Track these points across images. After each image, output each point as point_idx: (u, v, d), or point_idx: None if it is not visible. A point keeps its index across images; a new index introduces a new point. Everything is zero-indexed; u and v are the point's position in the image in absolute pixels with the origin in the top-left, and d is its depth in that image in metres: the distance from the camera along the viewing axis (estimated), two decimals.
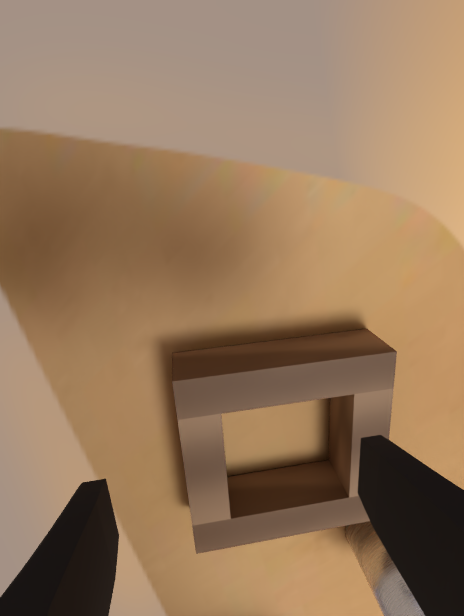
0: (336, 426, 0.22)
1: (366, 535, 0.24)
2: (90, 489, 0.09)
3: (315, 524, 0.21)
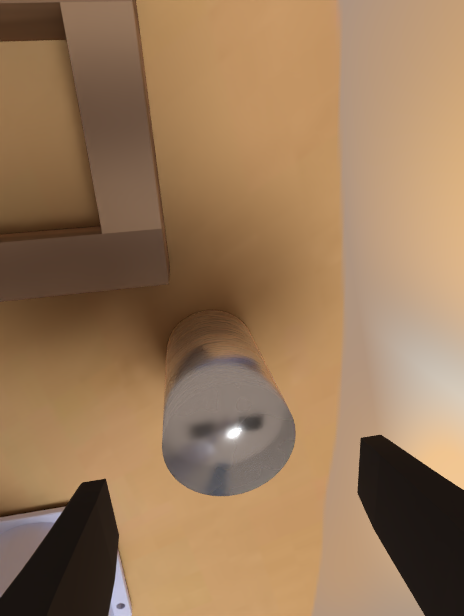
0: None
1: (175, 341, 0.16)
2: (90, 488, 0.09)
3: (54, 282, 0.13)
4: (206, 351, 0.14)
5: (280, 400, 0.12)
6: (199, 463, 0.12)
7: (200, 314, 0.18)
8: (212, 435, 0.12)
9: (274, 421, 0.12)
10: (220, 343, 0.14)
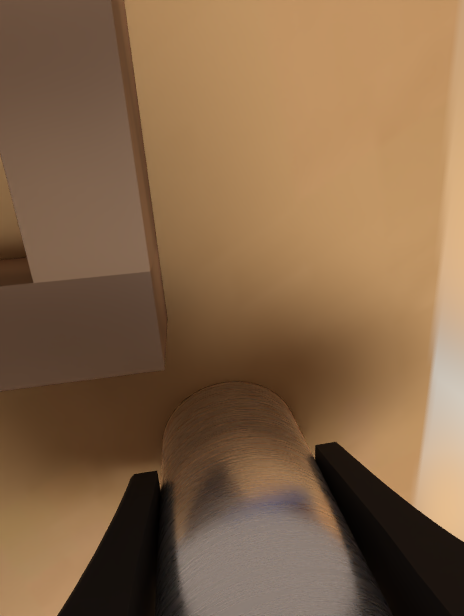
0: None
1: (176, 444, 0.10)
2: (144, 479, 0.09)
3: None
4: (236, 502, 0.07)
5: None
6: None
7: (216, 390, 0.11)
8: None
9: None
10: (260, 477, 0.08)
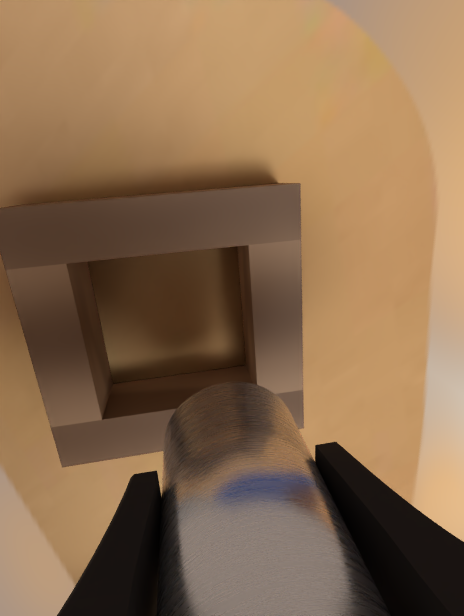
0: (245, 311, 0.17)
1: (174, 446, 0.10)
2: (144, 479, 0.09)
3: None
4: (228, 501, 0.07)
5: None
6: None
7: (211, 392, 0.11)
8: None
9: None
10: (251, 475, 0.08)
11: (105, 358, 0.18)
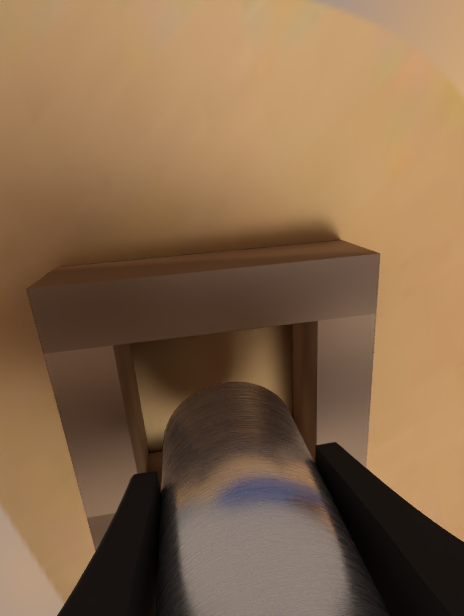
0: (299, 380, 0.16)
1: (173, 447, 0.10)
2: (144, 479, 0.09)
3: None
4: (226, 502, 0.07)
5: None
6: None
7: (210, 392, 0.11)
8: None
9: None
10: (250, 475, 0.08)
11: (143, 429, 0.16)
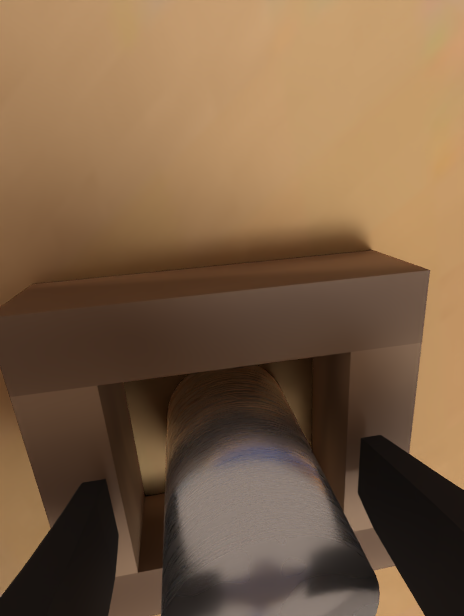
0: (322, 414, 0.13)
1: (176, 414, 0.12)
2: (90, 488, 0.09)
3: None
4: (222, 450, 0.09)
5: (354, 552, 0.07)
6: None
7: None
8: (243, 614, 0.07)
9: (344, 582, 0.07)
10: (243, 430, 0.09)
11: (137, 471, 0.14)
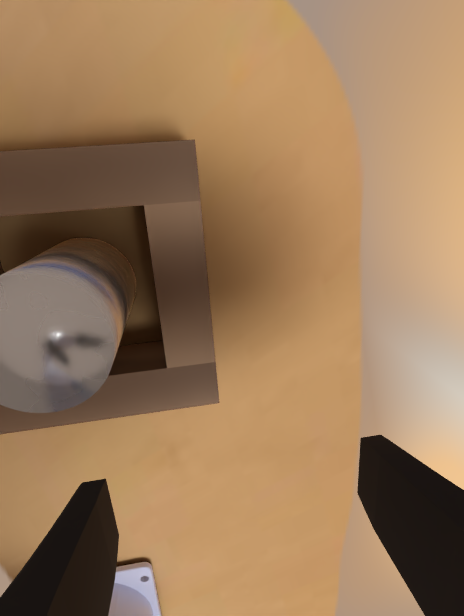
0: None
1: None
2: (90, 488, 0.09)
3: (126, 406, 0.16)
4: (29, 260, 0.12)
5: (82, 294, 0.10)
6: (4, 374, 0.11)
7: (64, 241, 0.16)
8: (10, 338, 0.11)
9: (82, 320, 0.11)
10: (52, 253, 0.13)
11: None
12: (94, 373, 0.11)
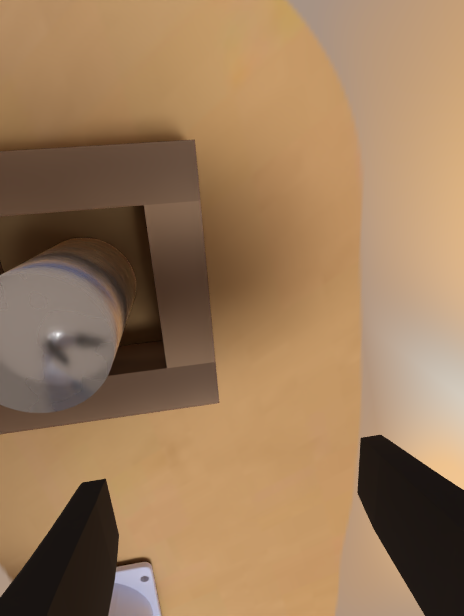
0: None
1: None
2: (90, 488, 0.09)
3: (126, 406, 0.16)
4: (29, 260, 0.12)
5: (82, 293, 0.10)
6: (4, 374, 0.11)
7: (64, 241, 0.16)
8: (10, 338, 0.11)
9: (81, 320, 0.11)
10: (52, 253, 0.13)
11: None
12: (94, 373, 0.11)
